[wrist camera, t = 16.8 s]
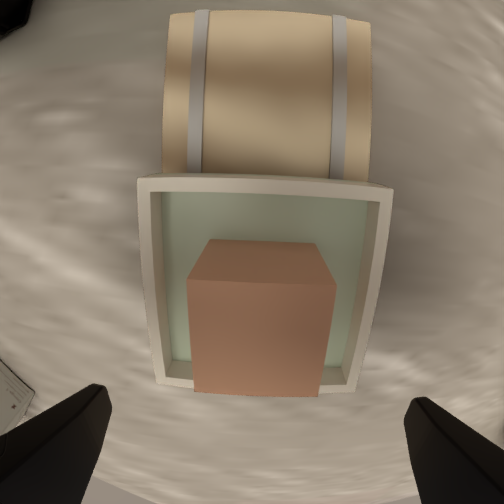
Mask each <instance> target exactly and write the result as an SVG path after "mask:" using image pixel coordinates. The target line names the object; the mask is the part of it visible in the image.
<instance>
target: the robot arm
mask: <svg viewBox="0 0 504 504" xmlns="http://www.w3.org/2000/svg"><path fill="white" fill-rule="evenodd" d="M31 3H32V0H0V38H1V37H3V36H4V35H5V34H7V33H9V32H11V31H13V30H16V29H18V28H20V27H22V26H24V25H25V24H26V22H27V19H28V15H29V11H30V7H31ZM111 412H112V404H111V401H110V398H109V395H108V391H107V389H106V387H105V386H103V385H99V384H91V385H89V386H87V387H85V388H84V389H82V390H80V391H79V392H77V393H75V394H73V395H72V396H70V397H68V398H67V399H65V400H63V401H61V402H60V403H58V404H56V405H54V406H53V407H51V408H49V409H47V410H46V411H44V412H42V413H40V414H39V415H37V416H35V417H33V418H32V419H30V420H28V421H26V422H24V423H23V424H21V425H19V426H17V427H15V428H14V429H12V430H10V431H8V432H7V433H4V434H3V435H1V436H0V504H81V502H82V499H83V496H84V494H85V491H86V488H87V486H88V483H89V481H90V478H91V475H92V473H93V470H94V468H95V465H96V463H97V460H98V458H99V455H100V452H101V449H102V445H103V441H104V438H105V434H106V430H107V427H108V423H109V420H110V416H111ZM404 427H405V432H406V438H407V444H408V450H409V456H410V461H411V466H412V470H413V473H414V477H415V480H416V484H417V488H418V492H419V496H420V499H421V503H422V504H504V450H503V449H501V448H500V447H498V446H497V445H495V444H494V443H492V442H491V441H489V440H488V439H487V438H485V437H484V436H482V435H481V434H479V433H478V432H476V431H475V430H473V429H472V428H470V427H469V426H468V425H466V424H465V423H463V422H462V421H460V420H459V419H457V418H456V417H454V416H453V415H452V414H450V413H449V412H447V411H446V410H444V409H443V408H442V407H440V406H439V405H437V404H436V403H434V402H433V401H431V400H430V399H429V398H427V397H417V398H414V399H413V400H412V401H411V403H410V405H409V408H408V410H407V412H406V414H405V417H404Z"/></svg>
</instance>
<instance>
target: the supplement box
mask: <svg viewBox="0 0 504 504" xmlns="http://www.w3.org/2000/svg"><path fill="white" fill-rule="evenodd" d="M33 396H34V391H32V390H31V389H29V388H28V387H27V386H26V385H25V384H24V383H23V382H21V381H20V380H19V379H18V378H17V377H16V376H15V375H14V374H13V373H12V372H11V371H10V370H9V369H8V368H7V367H6V366H5V365H4V364H3V363H2V362H1V361H0V436H1V435H3V434H4V433H7V432H8V431H10V430H12V429H14V428H15V427H16V426H17V424H18V423H19V422H20V420H21V419H22V417H23V416H24V414H25V412H26V410H27V408H28V406H29V404H30V402H31V400H32V398H33Z"/></svg>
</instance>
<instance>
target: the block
mask: <svg viewBox="0 0 504 504" xmlns="http://www.w3.org/2000/svg"><path fill="white" fill-rule="evenodd" d="M186 285H187V304H188V320H189V335H190V348H191V360H192V371H193V382H194V392H204V393H215V394H229V395H246V396H273V397H318V392H319V387H320V383H321V378H322V373H323V368H324V362H325V357H326V352H327V346H328V340H329V335H330V329H331V323H332V316H333V310H334V303H335V297H336V290H337V284H336V282H335V280H334V278H333V276H332V275H331V273H330V271H329V269H328V267H327V265H326V263H325V261H324V259H323V257H322V256H321V254H320V252H319V250H318V248H317V246H316V244H315V243H296V242H273V241H248V240H221V239H210V240H209V241H208V243H207V245H206V246H205V248H204V250H203V251H202V253H201V255H200V256H199V258H198V260H197V262H196V263H195V265H194V267H193V268H192V270H191V272H190V274H189V275H188V277H187V279H186Z"/></svg>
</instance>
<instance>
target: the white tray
mask: <svg viewBox="0 0 504 504" xmlns="http://www.w3.org/2000/svg"><path fill="white" fill-rule="evenodd" d="M393 193H394V189H391V188H388V187H385V186H382V185H379V184H376V183H370V182H360V181H350V180H338V179H326V178H312V177H297V176H279V175H257V174H224V173H156V174H151V175H147V176H143V177H139V178H137V200H138V224H139V242H140V256H141V268H142V279H143V290H144V299H145V308H146V316H147V324H148V332H149V339H150V346H151V352H152V359H153V365H154V371H155V377H156V382H157V384H163V385H171V386H179V387H188V388H194V382H193V371H192V360H191V348H190V335H189V320H188V304H187V285H186V279H187V277H188V275H189V274H190V272H191V270H192V268H193V267H194V265H195V263H196V262H197V260H198V258H199V256H200V255H201V253H202V251H203V250H204V248H205V246H206V245H207V243H208V241H209V240H210V239H221V240H248V241H273V242H296V243H315V244H316V246H317V248H318V250H319V252H320V254H321V256H322V257H323V259H324V261H325V263H326V265H327V267H328V269H329V271H330V273H331V275H332V276H333V278H334V280H335V282H336V284H337V290H336V297H335V303H334V310H333V316H332V323H331V329H330V335H329V340H328V346H327V352H326V357H325V362H324V368H323V373H322V378H321V383H320V387H319V392H318V393H345V392H355V388H356V385H357V382H358V378H359V375H360V371H361V367H362V363H363V360H364V356H365V352H366V348H367V344H368V340H369V336H370V331H371V327H372V323H373V318H374V314H375V309H376V304H377V299H378V294H379V289H380V284H381V278H382V273H383V267H384V261H385V255H386V248H387V242H388V235H389V227H390V219H391V211H392V202H393Z"/></svg>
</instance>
